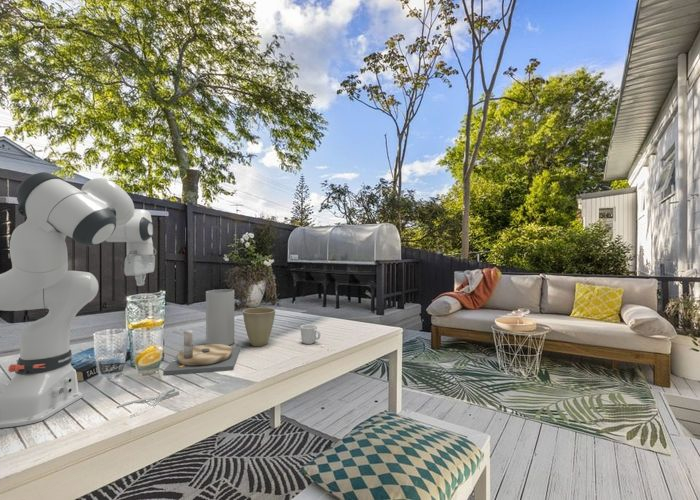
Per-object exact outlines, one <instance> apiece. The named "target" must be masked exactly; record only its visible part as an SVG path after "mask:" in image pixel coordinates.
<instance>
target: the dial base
mask: <svg viewBox="0 0 700 500" xmlns="http://www.w3.org/2000/svg"><path fill="white" fill-rule="evenodd" d="M230 347H231V348H232V355H231V356H230V357H229V358H228V359H226V360H223V361H220V362H217V363H212V364H207V365H184V364H181V363H179V362H178V354H177V355H176V356H175V357H174V358H173V360H171V361H170V363H169V364H168V365H167V366H166V367H165V369H164V370H163V371H162V372H163V373H162V374H163V376H170V375H183V374H194V373H195V374H197V373H210V372H219V371H220V372H223V371H233V370H234V369H235V366H236V363H237V361H238V358H239V354H240V352H241V351H240V350H241V346H230ZM183 350H184V349H183ZM183 350H180V352H181V351H183Z"/></svg>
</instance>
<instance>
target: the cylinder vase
mask: <svg viewBox="0 0 700 500" xmlns="http://www.w3.org/2000/svg"><path fill="white" fill-rule="evenodd" d="M205 341H206V342H205V343H206V344H205V345H207V344H223V345H228V346H231V345H233V344H234V343H235V290H234V289H229V288H228V289H227V288H224V289H221V288H220V289H211V290H206V291H205Z"/></svg>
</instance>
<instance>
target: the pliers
mask: <svg viewBox="0 0 700 500" xmlns="http://www.w3.org/2000/svg"><path fill="white" fill-rule="evenodd" d="M179 395H180V390H176V388H175V387H172V388H170V389H168V390H164V391H162V392H160V393H158V396H154V397H153V396H152V397H144V398H139V399H135V400H131V401H128V402H125V403H122V404H119V405H117V406H116V409H119V407H120V408H121V407H122V406H123V407H125V406H130V405H134V404H145V403H144V402H149V403H147V405H149V404H150V403H151V404H150V405H152V406H153V407H154V406H156V405H157V404H158V403H159V402H160V403H162V402H163V401H164V400H168V399H170V398H173V397H177V396H179ZM155 399H156V400H155ZM146 400H152V401H154V402H153V403H152V402H150V401H146ZM162 400H163V401H162ZM142 401H144V402H142ZM133 403H134V404H133ZM160 403H159V404H160ZM159 404H158V405H159ZM150 405H149V406H150ZM158 405H157V406H158ZM157 406H156V407H157ZM154 408H155V407H154ZM137 413H138V412H135V413H133V414H131V415H130V416H132V415H135V414H137Z"/></svg>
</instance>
